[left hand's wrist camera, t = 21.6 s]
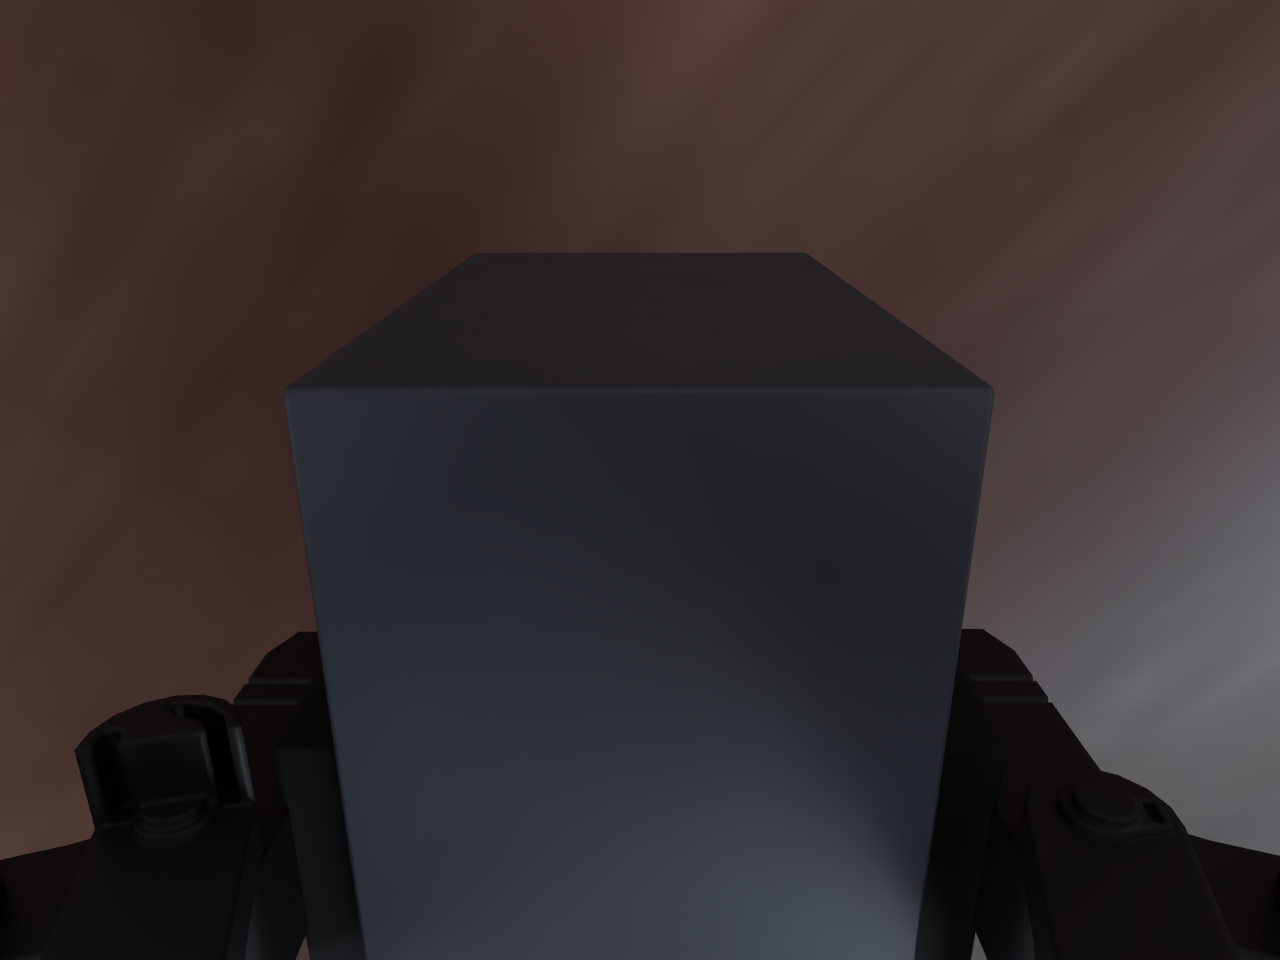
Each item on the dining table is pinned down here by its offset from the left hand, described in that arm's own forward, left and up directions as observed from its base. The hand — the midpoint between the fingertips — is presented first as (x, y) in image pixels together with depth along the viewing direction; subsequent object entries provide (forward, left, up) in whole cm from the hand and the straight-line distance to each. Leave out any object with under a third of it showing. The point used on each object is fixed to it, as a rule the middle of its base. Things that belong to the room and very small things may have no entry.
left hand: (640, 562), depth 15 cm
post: (+26, -18, -1) cm, 32 cm away
